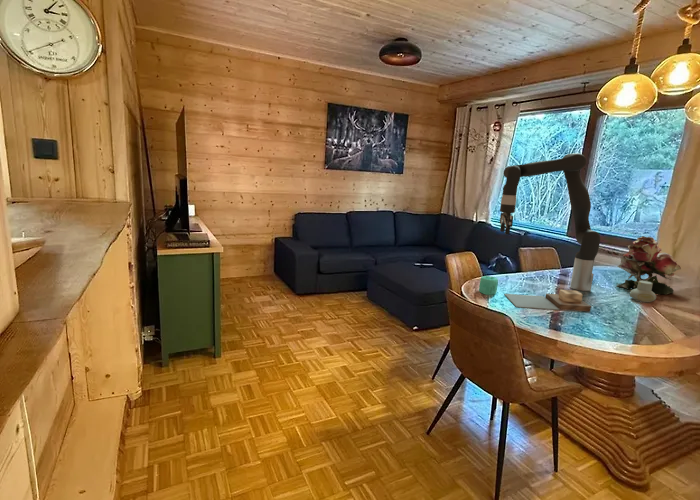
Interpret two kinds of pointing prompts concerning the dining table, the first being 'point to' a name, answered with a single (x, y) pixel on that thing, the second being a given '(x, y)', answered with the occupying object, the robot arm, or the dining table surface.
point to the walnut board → (567, 303)
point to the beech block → (570, 295)
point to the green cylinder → (488, 285)
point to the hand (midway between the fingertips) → (504, 233)
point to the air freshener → (643, 292)
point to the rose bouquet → (648, 265)
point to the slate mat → (531, 302)
